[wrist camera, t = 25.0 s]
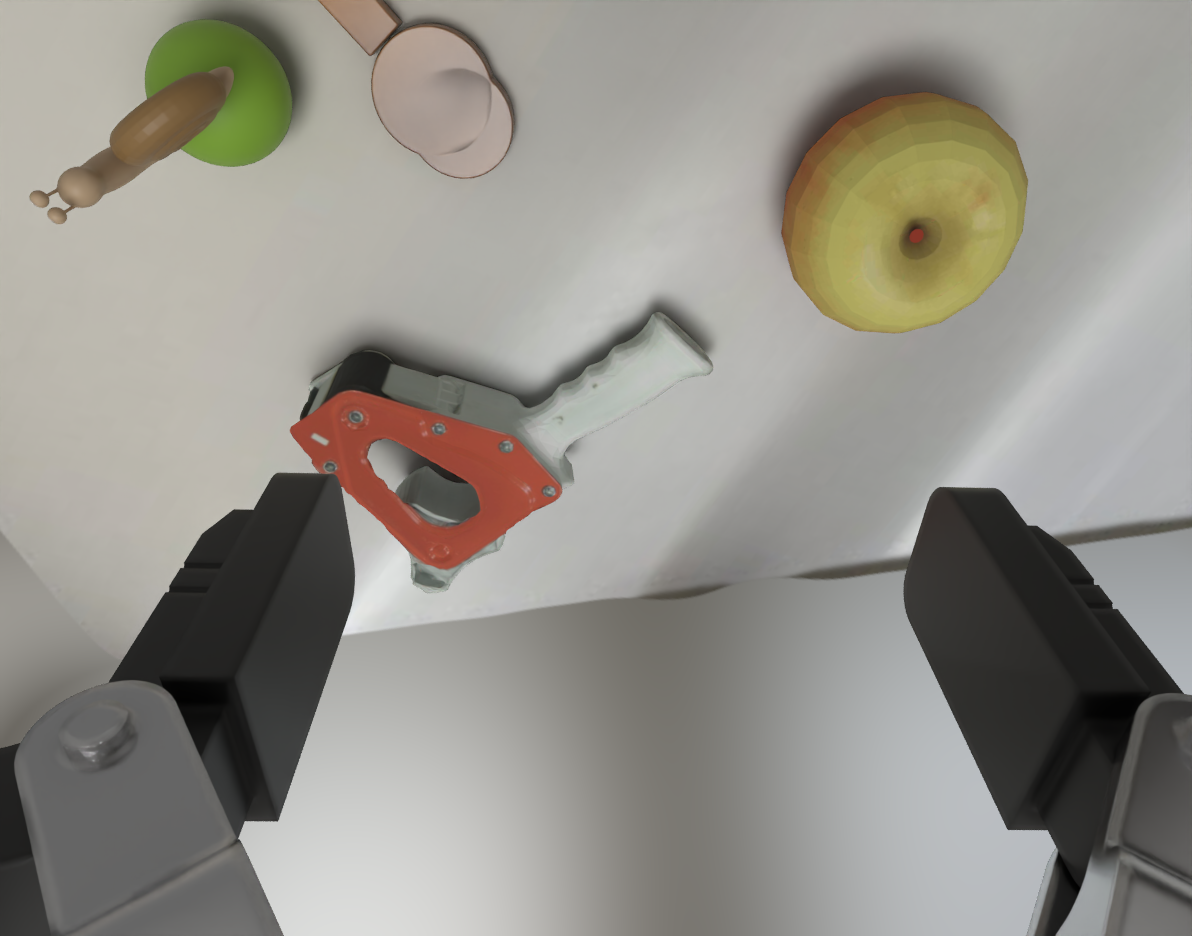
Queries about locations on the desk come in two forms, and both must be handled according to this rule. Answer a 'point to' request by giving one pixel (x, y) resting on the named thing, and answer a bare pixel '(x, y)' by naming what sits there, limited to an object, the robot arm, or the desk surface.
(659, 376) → the tape dispenser
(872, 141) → the apple
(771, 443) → the desk surface
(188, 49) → the snail figurine
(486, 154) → the spoon
